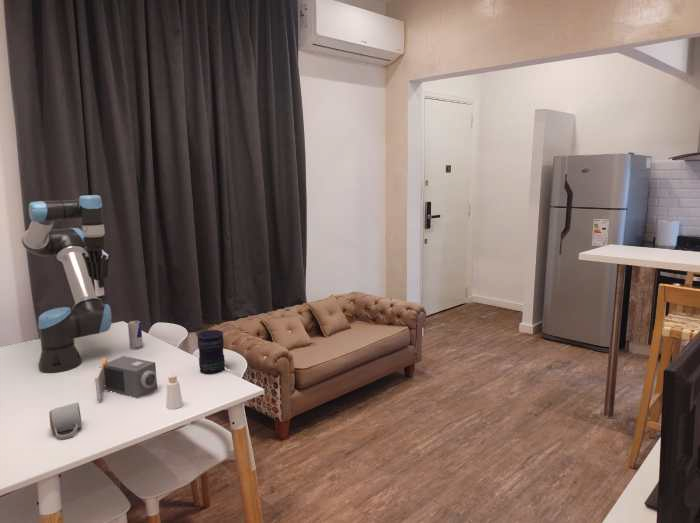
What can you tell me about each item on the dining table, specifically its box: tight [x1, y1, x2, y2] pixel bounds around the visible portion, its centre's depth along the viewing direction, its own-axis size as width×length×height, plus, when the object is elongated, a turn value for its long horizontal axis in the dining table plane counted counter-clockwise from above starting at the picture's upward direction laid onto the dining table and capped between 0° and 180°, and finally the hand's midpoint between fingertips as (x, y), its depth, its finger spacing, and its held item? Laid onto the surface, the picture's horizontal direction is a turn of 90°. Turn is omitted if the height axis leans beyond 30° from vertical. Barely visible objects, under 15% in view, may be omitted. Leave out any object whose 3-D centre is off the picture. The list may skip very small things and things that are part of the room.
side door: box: [94, 357, 108, 401], centre depth 181 cm, size 21×1×8 cm, turn 18°
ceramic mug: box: [48, 402, 83, 440], centre depth 154 cm, size 11×8×8 cm
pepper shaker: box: [165, 373, 184, 410], centre depth 169 cm, size 5×5×11 cm
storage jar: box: [197, 329, 226, 375], centre depth 199 cm, size 10×10×15 cm
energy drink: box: [127, 320, 144, 350], centre depth 225 cm, size 5×5×12 cm
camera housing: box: [103, 355, 158, 399], centre depth 182 cm, size 18×9×11 cm, turn 65°
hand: (100, 295), depth 197 cm, fingers closed
